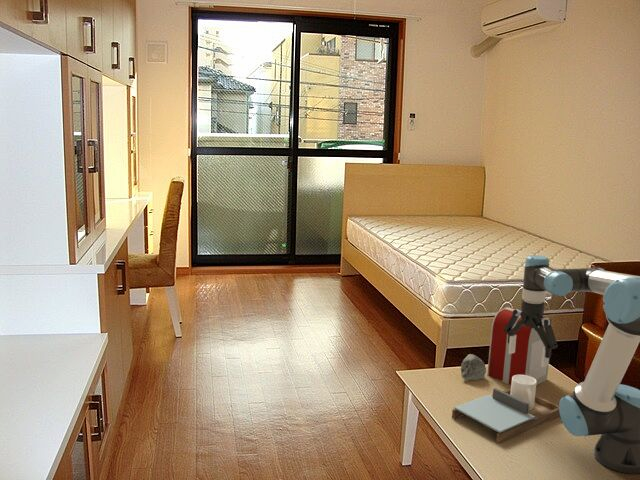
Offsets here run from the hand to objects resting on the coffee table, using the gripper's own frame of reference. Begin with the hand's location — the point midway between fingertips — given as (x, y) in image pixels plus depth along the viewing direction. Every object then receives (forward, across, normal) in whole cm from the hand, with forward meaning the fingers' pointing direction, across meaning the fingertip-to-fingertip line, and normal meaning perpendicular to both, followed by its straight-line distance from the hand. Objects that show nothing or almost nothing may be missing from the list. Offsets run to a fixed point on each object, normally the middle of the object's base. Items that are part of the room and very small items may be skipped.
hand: (527, 359), depth 218 cm
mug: (+19, 0, 0) cm, 19 cm away
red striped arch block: (+19, +19, -22) cm, 35 cm away
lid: (+16, 0, +15) cm, 22 cm away
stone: (+19, +29, -7) cm, 36 cm away
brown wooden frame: (+19, 0, +8) cm, 21 cm away
